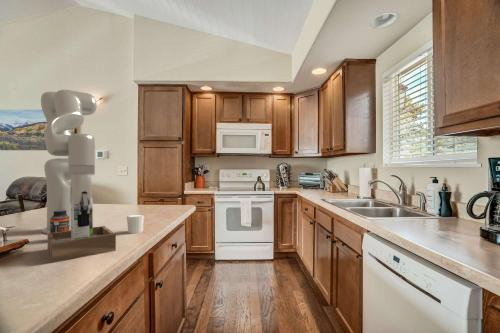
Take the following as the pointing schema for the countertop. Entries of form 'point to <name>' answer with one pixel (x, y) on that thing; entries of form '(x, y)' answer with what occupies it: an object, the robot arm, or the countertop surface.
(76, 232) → the syrup box
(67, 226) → the supplement bottle
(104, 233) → the crate
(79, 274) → the countertop surface
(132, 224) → the white cup
